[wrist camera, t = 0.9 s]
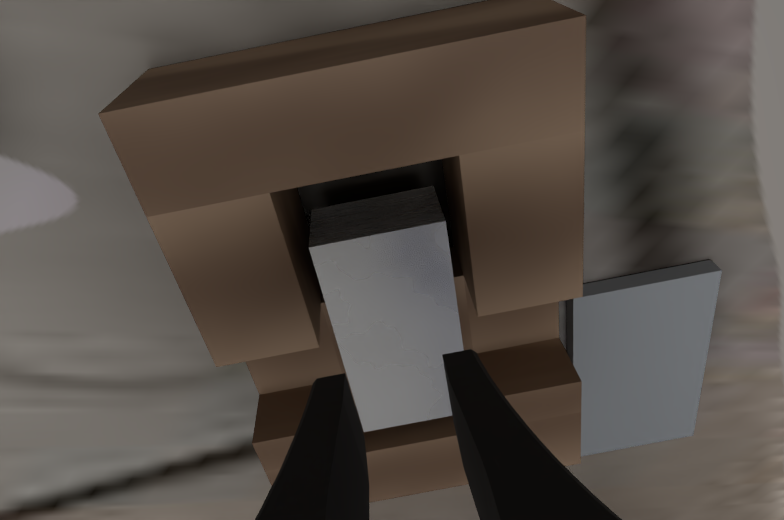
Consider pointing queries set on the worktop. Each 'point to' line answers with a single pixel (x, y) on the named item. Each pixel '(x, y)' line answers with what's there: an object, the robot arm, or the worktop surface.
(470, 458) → the robot arm
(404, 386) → the aluminium tile
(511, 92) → the pocket board
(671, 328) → the slate mat
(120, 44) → the worktop surface
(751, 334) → the worktop surface
